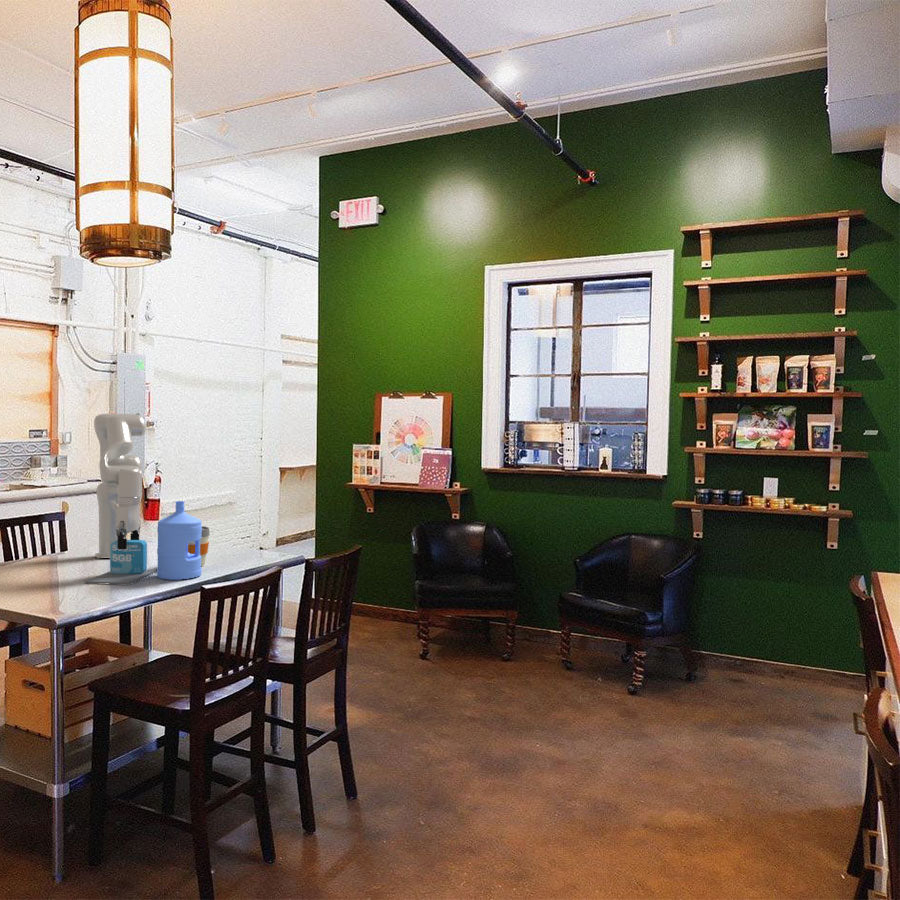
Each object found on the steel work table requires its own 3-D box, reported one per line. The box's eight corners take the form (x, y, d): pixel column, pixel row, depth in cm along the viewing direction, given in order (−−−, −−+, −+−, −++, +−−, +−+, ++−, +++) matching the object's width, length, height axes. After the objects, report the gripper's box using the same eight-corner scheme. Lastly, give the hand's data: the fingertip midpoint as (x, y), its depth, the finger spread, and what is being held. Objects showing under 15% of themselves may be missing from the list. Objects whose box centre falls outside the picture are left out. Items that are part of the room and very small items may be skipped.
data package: (109, 573, 283) (109, 541, 283) (114, 571, 288) (114, 539, 287) (143, 574, 284) (143, 542, 284) (146, 571, 289) (147, 540, 288)
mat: (116, 570, 292) (116, 568, 292) (156, 572, 291) (156, 570, 291) (85, 583, 270) (84, 581, 270) (128, 585, 269) (128, 582, 269)
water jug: (154, 581, 276) (155, 504, 275) (159, 572, 291) (159, 499, 290) (200, 580, 280) (201, 504, 279) (202, 571, 295) (203, 499, 294)
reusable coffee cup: (203, 569, 299) (203, 531, 299) (171, 568, 300) (171, 530, 299) (213, 563, 312) (214, 526, 311) (183, 562, 312) (183, 525, 311)
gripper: (130, 497, 294) (130, 541, 295) (107, 503, 276) (107, 550, 278) (149, 498, 293) (148, 542, 294) (127, 504, 276) (127, 551, 277)
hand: (128, 546), depth 286 cm, fingers open, 9 cm apart
